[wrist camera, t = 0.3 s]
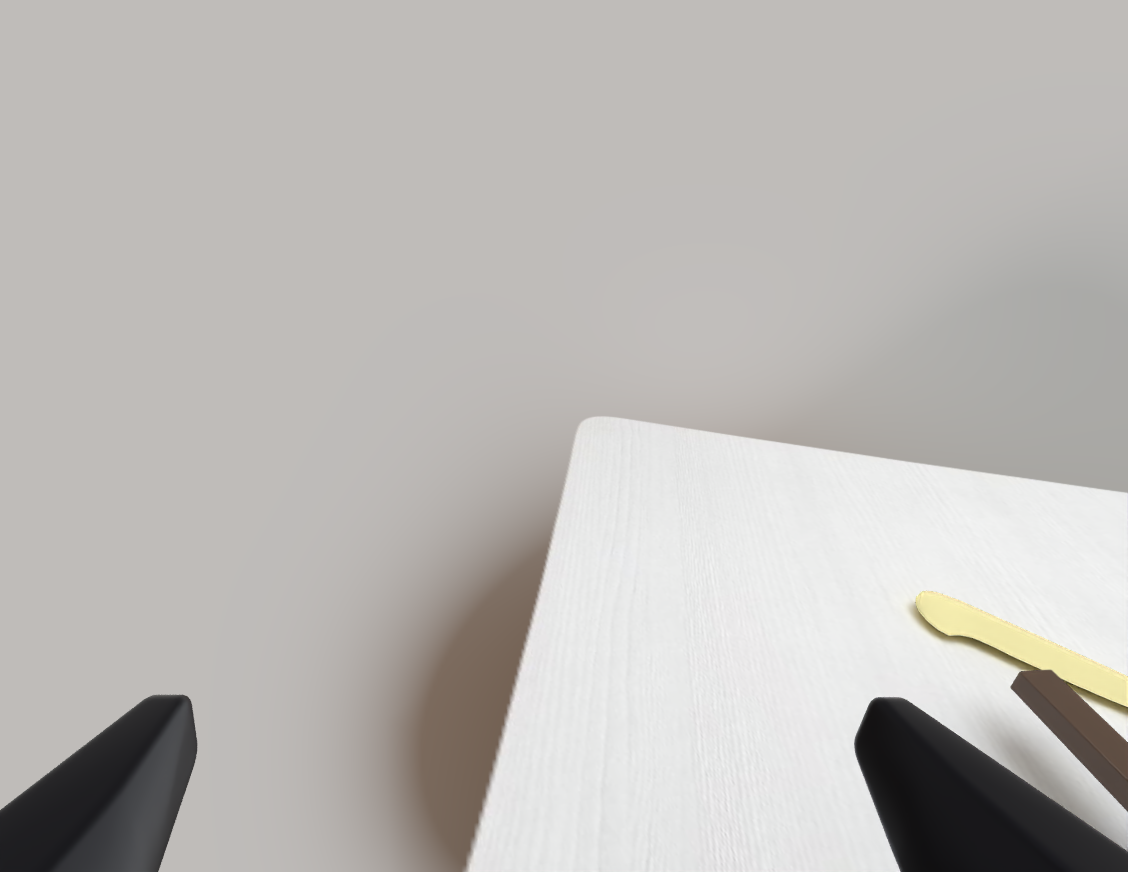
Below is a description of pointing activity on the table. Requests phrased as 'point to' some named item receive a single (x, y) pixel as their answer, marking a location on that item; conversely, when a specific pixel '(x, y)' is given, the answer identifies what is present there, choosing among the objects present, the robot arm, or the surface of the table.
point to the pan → (1077, 728)
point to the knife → (1021, 645)
